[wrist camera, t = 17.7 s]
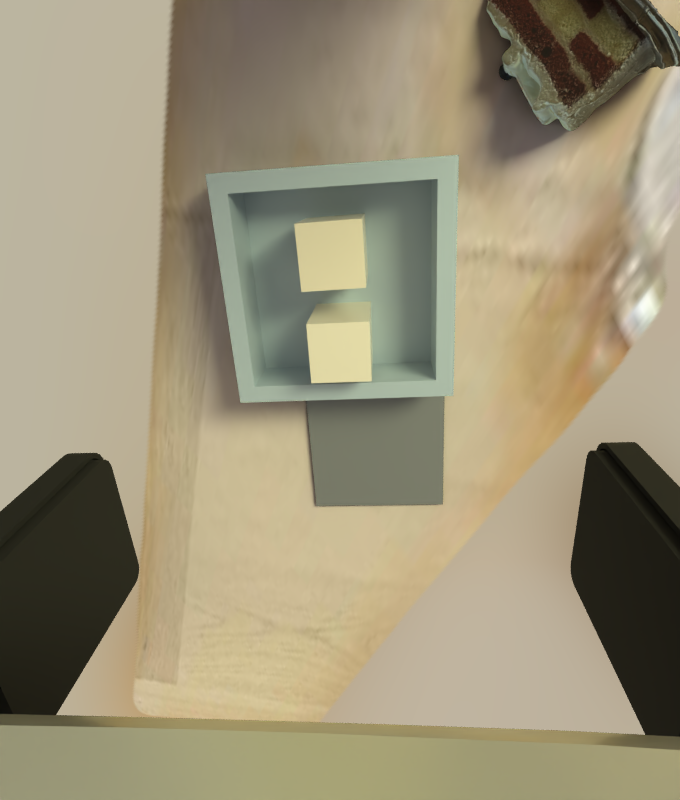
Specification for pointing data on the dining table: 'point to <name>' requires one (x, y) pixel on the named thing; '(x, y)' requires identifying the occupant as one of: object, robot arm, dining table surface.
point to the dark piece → (580, 51)
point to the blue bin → (386, 289)
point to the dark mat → (377, 450)
